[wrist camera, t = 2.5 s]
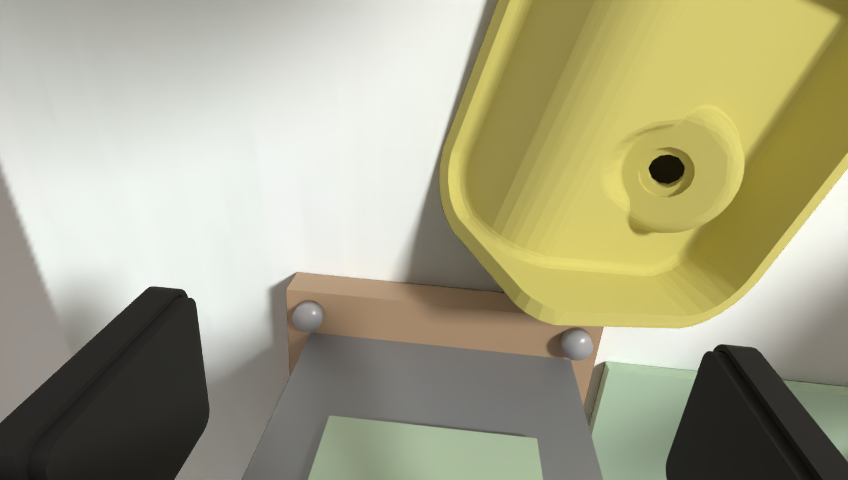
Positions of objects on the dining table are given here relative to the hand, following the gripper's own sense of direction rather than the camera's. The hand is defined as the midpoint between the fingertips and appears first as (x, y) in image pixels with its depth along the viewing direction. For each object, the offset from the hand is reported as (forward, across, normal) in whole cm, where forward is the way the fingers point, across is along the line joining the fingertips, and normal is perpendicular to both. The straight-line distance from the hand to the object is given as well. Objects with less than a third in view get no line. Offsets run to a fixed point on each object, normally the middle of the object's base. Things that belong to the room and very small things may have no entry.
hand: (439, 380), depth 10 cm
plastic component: (+13, -8, -6) cm, 16 cm away
